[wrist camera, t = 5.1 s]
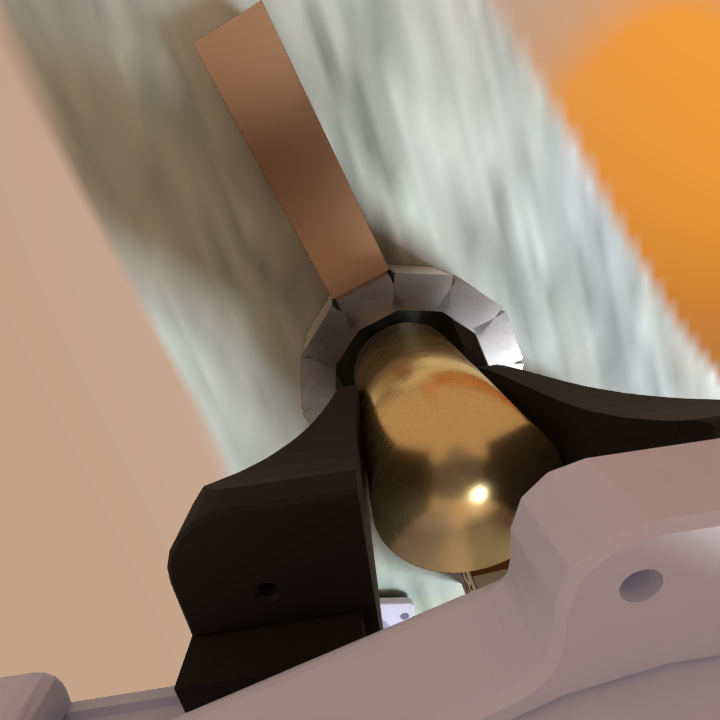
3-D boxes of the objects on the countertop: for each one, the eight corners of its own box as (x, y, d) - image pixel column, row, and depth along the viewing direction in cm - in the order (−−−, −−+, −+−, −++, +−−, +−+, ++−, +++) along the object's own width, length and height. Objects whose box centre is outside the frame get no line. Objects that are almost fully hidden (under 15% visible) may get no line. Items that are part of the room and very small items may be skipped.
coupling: (568, 441, 18) (612, 481, 15) (241, 439, 17) (222, 481, 14) (668, 75, 13) (760, 32, 10) (214, 33, 12) (176, -27, 9)
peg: (466, 326, 14) (588, 417, 7) (447, 421, 15) (537, 573, 8) (358, 318, 13) (383, 407, 7) (349, 417, 15) (362, 572, 8)
